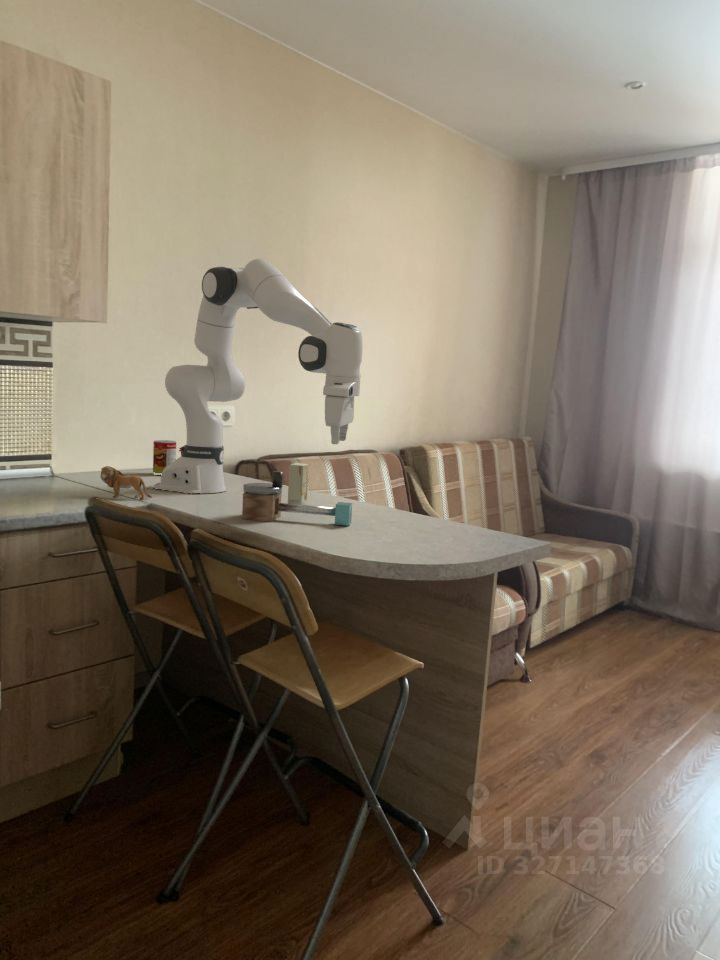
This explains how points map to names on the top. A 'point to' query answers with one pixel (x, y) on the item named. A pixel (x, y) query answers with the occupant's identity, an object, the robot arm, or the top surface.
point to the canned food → (163, 454)
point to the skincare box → (298, 484)
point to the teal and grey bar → (322, 511)
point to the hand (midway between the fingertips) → (338, 442)
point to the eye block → (261, 507)
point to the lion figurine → (122, 481)
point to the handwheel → (266, 486)
